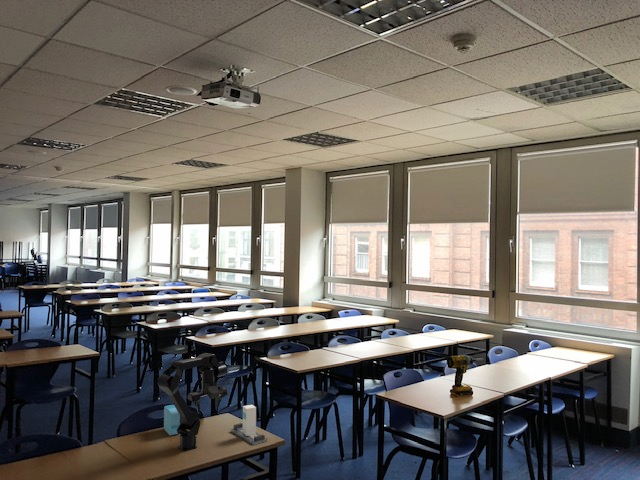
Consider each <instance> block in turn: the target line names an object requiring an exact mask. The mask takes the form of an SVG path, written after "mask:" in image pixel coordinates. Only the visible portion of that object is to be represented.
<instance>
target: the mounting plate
mask: <svg viewBox="0 0 640 480" xmlns="http://www.w3.org/2000/svg"><path fill="white" fill-rule="evenodd" d="M230 432H231V433H232V434H234V435H235V436H237V437H239V438H241V439H242V440H244V441H246V442H248V443H249V444H250V445H252V446H255V445H259V444H262V442H263V443H265V442H268V440H269V438H267V437H266V435H265V434H260V433H259V432H257V431H256V434H254V435H249V436H246V435H245V434H244V433H243V422H240V423H236V424H233V428H230ZM258 443H259V444H258Z"/></svg>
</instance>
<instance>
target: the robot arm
mask: <svg viewBox="0 0 640 480" xmlns="http://www.w3.org/2000/svg"><path fill="white" fill-rule="evenodd" d="M198 367H200V368H199V369H198V372H200V373H201V381H200V383H201V389H200V393H198V392H196V391H195V392H189V393H188V394H187V400H188V401H190V402H192V403H193V405H194V407H195V409H196V411H197V412H195V411H194V410H193V411H191V410H190V408H189V406H188V404H187V403H186V400H185V399H184V397H183V395H182V394H181V392H180V387H179V386H180V384H179V382H180V381H181V378H182V373H183V372H184V370H189V369H193V368H198ZM174 372H175V374H174V375H172V374H173V373H174ZM227 372H228V368H227V366H226V364H225V361H219V360H218V359H217V357H216V354H214V353H207V352H203V353H201V354H199V355H198V356H196V357H193V358H187V359H182V360H175V361H172V363H171V365H170V366H169V367H167V368H166V369H165V370H164V371H163V372H162V373H161V375H160V376H159V377H158V380H157V385H158V387H159V388H160V389H161V390H162V391H163V392H164V393H166V394H167V395H168V397H169V399H170V401H171V402H172V405H174V406H175V407H176V409H177V411H178V413H179V414H180V419H179V427H178V429H177V433H178V434H177V435H179V445H178V448H179V449H180V450H181V451H183V452H187V451H189V450H193V449H197V447H198V446H197V436H198V435H199V430H200V426H201V418H200V416H199V415H200V414H201V402H202V400H201V398H205V397H208V399H210V400H212V399H214V403H215V404H214V405H215V410H216V411H218V409H219V406H220V405H221V401H222V400H223V398H225V397H226V396H229V395H228V394H229V390H228V389H227V388H225V387H223V385H220V386H217V384H216V381H215V379H216V378H220V377H222V376H223V377H224V376H225V375H226V374H227Z"/></svg>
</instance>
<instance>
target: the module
mask: <svg viewBox="0 0 640 480" xmlns="http://www.w3.org/2000/svg"><path fill="white" fill-rule="evenodd" d="M242 423H243V433H244V434H245V435H246V436H249V435H254V434H256V432H257V406H255V405H253V404H248V405H242Z"/></svg>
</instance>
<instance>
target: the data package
mask: <svg viewBox="0 0 640 480" xmlns="http://www.w3.org/2000/svg"><path fill="white" fill-rule="evenodd" d="M180 418H181V416H180V414H179V413H178V411H177V409H176V407H175V406H174V404H169V405H165V406H164V407H163V429H164V431H165V432H166V433H167V434H168V436H175V435H179V434H178V433H177V429H178V427H179V425H180Z"/></svg>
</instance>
